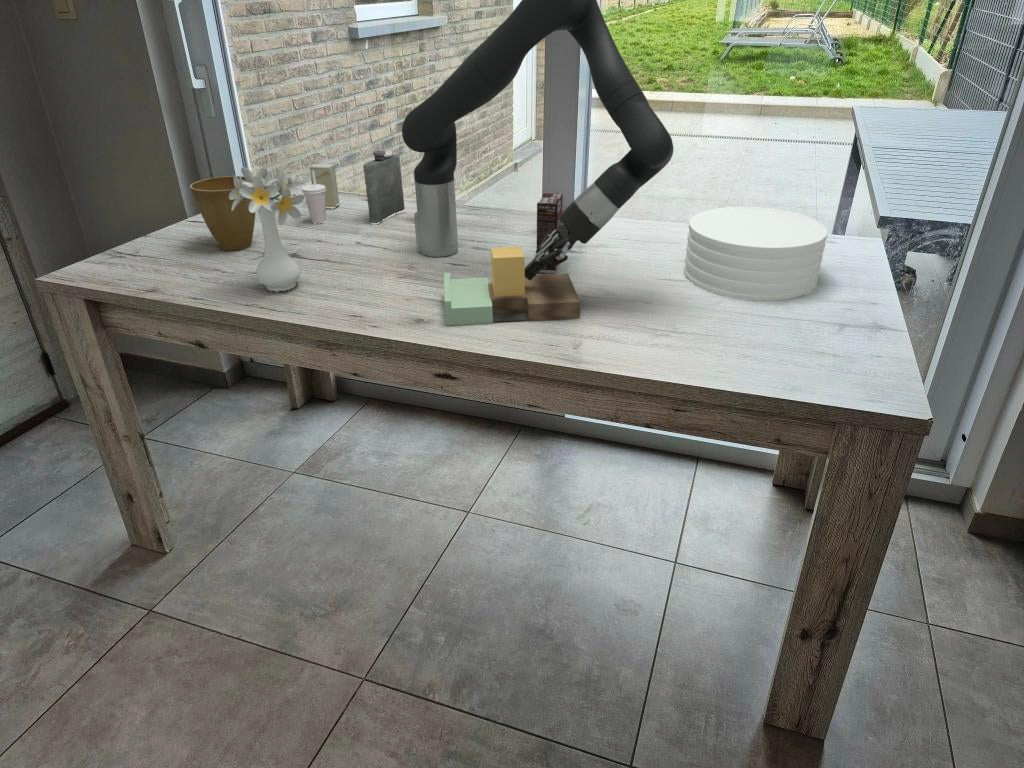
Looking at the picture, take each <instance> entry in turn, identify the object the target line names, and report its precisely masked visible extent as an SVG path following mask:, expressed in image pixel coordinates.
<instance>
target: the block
mask: <svg viewBox="0 0 1024 768" xmlns="http://www.w3.org/2000/svg"><path fill="white" fill-rule="evenodd" d="M490 257H491V261H490V262H491V284H492V287H493V292H494V297H506V296H524V295H525V268H526V265H525V254H524V251H523V249H522V246H520V245H519V246H502V247H501V246H500V247H491V248H490Z"/></svg>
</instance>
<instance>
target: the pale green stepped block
mask: <svg viewBox="0 0 1024 768" xmlns="http://www.w3.org/2000/svg"><path fill="white" fill-rule="evenodd" d="M443 277H444V278H443V281H444V282H443V285H444V287H443V288H444V291H443V294H444V309H445V310H444V311H445V325H447V326H459V325H460V326H461V325H478V324H479V325H480V324H494V323H493V311H492V301H491V299H490V298H491V296H490V295H489V287H488V284H490V283H489V278H488V277H469V278H451V272H444V273H443Z"/></svg>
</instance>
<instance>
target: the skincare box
mask: <svg viewBox="0 0 1024 768" xmlns="http://www.w3.org/2000/svg"><path fill="white" fill-rule="evenodd" d="M312 171H314V174H315V180H316V184H320V185H324V186H325V187H326V191H325V206H326V207H335V206H336V205H337V204H338V203H339V204H340V198H339V191H338V182H337V181H338V179H337V174H336V172H337V171H336V165H335V163H333V164H331V163H313V164H312V165H310V166H309V172H310V173H309V174H310V182H311V185H314V181H313V174H312Z"/></svg>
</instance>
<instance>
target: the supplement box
mask: <svg viewBox="0 0 1024 768" xmlns="http://www.w3.org/2000/svg"><path fill="white" fill-rule="evenodd" d="M563 196H564V194H562V193H547V192H545V193H542V196H541V197H540V198H539V201H538V202H536V249H537V248H538V247H539V245H540V244H541V242H542V240H543V239H544V237H545V236H546V234H547V232H548V231H549V230H552V231H554V230H555V229H557V228H558V227H560V226H561V225H562V223H561V221H560V219H559V215H560V214H561V213H562V212H563V199H564V198H563ZM559 266H560V264H558V265H557V266H555V267H553V268H551V269H549V270H547V269H546V268H545V269H544V268H543V269H542V270H541V271H540V272H539V273H538V274H557V271H558V268H559Z"/></svg>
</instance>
